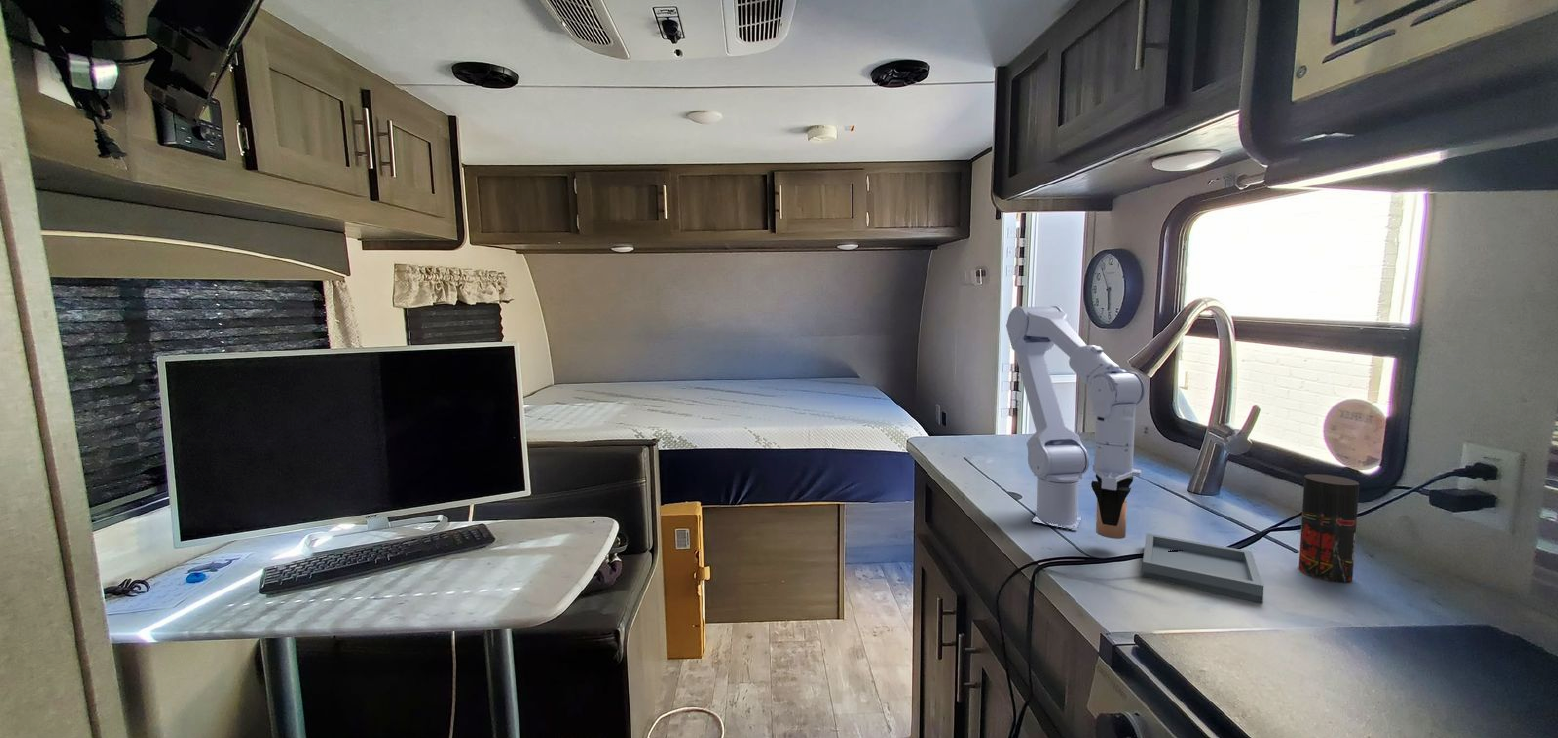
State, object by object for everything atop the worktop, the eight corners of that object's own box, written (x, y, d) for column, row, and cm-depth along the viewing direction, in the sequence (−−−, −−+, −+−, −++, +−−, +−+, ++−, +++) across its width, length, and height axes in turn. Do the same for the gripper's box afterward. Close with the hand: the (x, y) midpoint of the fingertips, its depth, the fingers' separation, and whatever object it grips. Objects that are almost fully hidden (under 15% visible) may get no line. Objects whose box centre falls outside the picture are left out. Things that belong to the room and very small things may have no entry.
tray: (1146, 546, 96) (1146, 533, 96) (1250, 566, 88) (1251, 551, 87) (1142, 577, 84) (1143, 561, 84) (1262, 603, 76) (1263, 585, 76)
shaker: (1097, 527, 98) (1098, 486, 97) (1126, 532, 95) (1128, 490, 94) (1094, 535, 94) (1096, 492, 93) (1124, 540, 91) (1126, 497, 91)
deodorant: (1293, 562, 89) (1299, 472, 88) (1344, 570, 86) (1350, 477, 85) (1304, 577, 84) (1311, 481, 83) (1359, 586, 81) (1366, 487, 79)
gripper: (1140, 454, 85) (1136, 538, 86) (1144, 437, 97) (1140, 512, 98) (1088, 448, 89) (1085, 529, 90) (1098, 433, 101) (1095, 505, 102)
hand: (1111, 520), depth 94 cm, fingers closed on shaker, 4 cm apart
